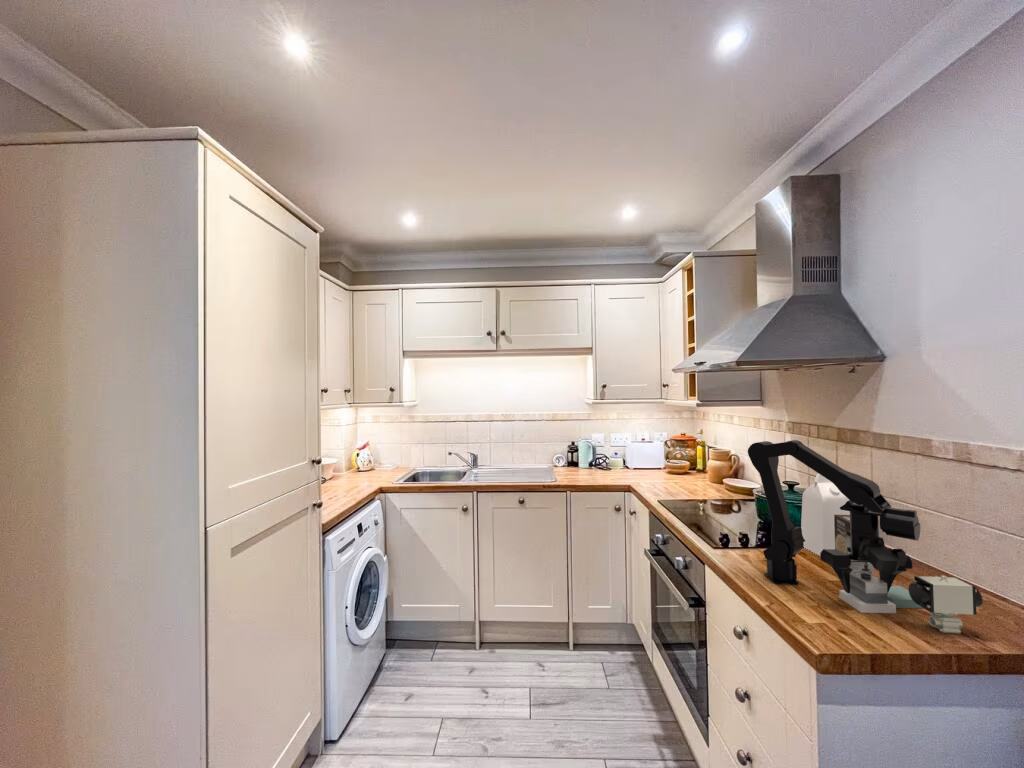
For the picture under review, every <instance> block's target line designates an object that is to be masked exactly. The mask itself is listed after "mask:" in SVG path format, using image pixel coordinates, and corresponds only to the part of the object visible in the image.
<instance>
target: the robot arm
mask: <svg viewBox="0 0 1024 768" xmlns="http://www.w3.org/2000/svg"><path fill="white" fill-rule="evenodd" d="M747 454H748V457H749V459H750V461H751V464H752V465H753V467H754V468H755V470H756V471H757V472H758V473H759V477H760V480H761V484H762V487H763V492H764V496H765V500H766V502H767V503H766V504H767V507H768V510H769V515H770V519H771V521H772V523H771V524H772V525H771V533H770V538H771V545H770V546H769V547H767V548H766V549H764V550H763V551H762V553H763V555H764V558H765V560H766V572H764V573H763V574H764V576H765V577H766V578H768V579H769V580H770V581H771V582H772V583H774V584H777V585H779V584H780V585H799V581H798V580H797V579H798V574H797V573H798V571H797V568H798V566H797V564H796V560H795V559H794V558H795V557H796V555H797V554H798V553H800V552H801V551H802V550H803V549H804V548H803V546H804V544H803V542H805V539H804V538H803V535H802V529H801V526H796V525H794V523H793V522H792V519H791V515H790V514H789V510H788V506H787V501H786V498H785V495H784V491H783V487H782V483H781V479H780V476H779V473H778V472H779V471H778V468H779V461H780V460H779V459H780V458H779V457H782V456H791V457H792V458H794V459H796V460H798V462H801V463H802V464H803V465H805V466H806V467H808V468H810V469H811V470H812V471H814V472H816V474H820V475H822V476H823V477H825V478H826V479H828V480H829V481H831V482H832V483H833V484H834V485H835V486H836V487H837V488H838V489H839V491H840V492H841V493H842V494H843V495H845V496H846V497H847V498H848V499H849V501H847V502H846V503H845V504H844V505H843V506H841V507H840V509H841V510H846V511H850V531H847V535H848V536H850V538H851V547H847V551H849V552H851V554H845V553H843V552H841V551H839V550H837V549H823V550H822V551H821V553H820V556H819V557H820V560H821V561H823V562H824V563H826V564H827V565H829V566H831V567H832V569H833V571H834V572H835V574H836V575H837V578H838V580H839V581H840V582H839V583H841V586H842V588H843V590H845V592H847V593H850V573H851V571H852V570H853V569H851V568H849V566H850V565H851V562H870V563H871V564H872V565H873V567H874V569H875V570H876V571H878V574H879V579H881V580H882V581H884V582H886V583H887V594H888V592H889V590H890V587H891V586H893V584H894V581H895V579H896V577H897V576H898V575H899V574H901V573H905V572H907V571H908V569H909V570H911V569H914V564H913V560H912V558H911V556H910V555H907V554H906V551H904V550H903V549H902V548H888V547H886V545H885V540H884V538H883V537H881V536H880V530H881V531H882V532H883V533H885V535H886V536H891V537H897V538H902V539H905V540H911V541H917V542H918V541H919V539H920V536H921V522H920V521H919V520H920V519H919V517H918V513H917V510H915V509H914V510H913V509H903V508H895V507H892V505H891V504H890V503H889V501H887V499H886V498H885V497H884V496H883V494H882V493H881V489H880V486H879V484H878V483H876V482H875V481H873V480H870V479H869V478H867V477H864V476H862V475H859V474H857V473H853V472H851V471H848V470H846V469H843V468H842V467H841V466H838V465H837V464H835V463H834V462H832V461H831V460H829V459H828V458H826V457H824V456H823V455H821V454H820V453H818V452H816V451H815V450H813V449H811V448H810V447H808V446H807V445H805V444H804V443H803V442H801V441H800V440H799V439H793V440H788V441H785V442H776V443H773V442H771V441H768V440H767V441H766V440H764V441H757V442H753V443H751V445H750V446H749V447H748V448H747ZM854 503H855V504H854Z"/></svg>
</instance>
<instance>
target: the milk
mask: <svg viewBox="0 0 1024 768" xmlns="http://www.w3.org/2000/svg"><path fill="white" fill-rule="evenodd" d="M801 499H802V500H801V519H800V521H801V523H800V525H801V526H800V527H801V529H802V535H803V538H804V539H805V542H803V544H804V546H803V547H804V548H803V549H805V548H806V549H805V550H807V549H808V550H807V551H809V550H810V551H811V553H812V552H813V553H812V554H814V553H815V554H814V555H816V554H817V555H816V556H818V555H819V556H818V557H820V553H821V551H822V550H823V549H835V527H834V515H850V511H846V510H841V509H840V507H841V506H843V505H844V504H845V503H846V502H847V501H849V499H848V498H847V497H846V496H845V495H843V494H842V493H841V492H840V491H839V489H838V488H837V487H836V486H835V485H834V484H833V483H832V482H831V481H829V480H828V479H826V478H825V477H823V476H822V475H820V474H819V473H816V475H815V479H814V482H812V483H811V484H810V485H809V486H808V487H807V488H806V489H805V490H804V491H803V493H802V498H801ZM854 504H855V503H854ZM810 551H809V552H810Z"/></svg>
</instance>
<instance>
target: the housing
mask: <svg viewBox="0 0 1024 768" xmlns="http://www.w3.org/2000/svg"><path fill="white" fill-rule="evenodd" d="M850 593H851V594H852V595H854V596H855V597H857V598H858V599H860V600H862V601H863V602H865V603H867V604H888V596H887V583H886V582H884V581H882V580H881V579H880V577H877V576H875V575H874V576H873V575H871V574H869V573H868V572H851V573H850Z"/></svg>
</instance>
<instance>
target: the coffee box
mask: <svg viewBox="0 0 1024 768" xmlns="http://www.w3.org/2000/svg"><path fill="white" fill-rule="evenodd" d="M834 527H835V549H837V550H839V551H841V552H843V553H845V554H851V552H849V551H847V547H851V538H850V536H848V535H847V531H850V515H834ZM849 568H851V569H853V570H852V571H851V572H868V573H869V574H871V575H873V576H875V574H874V573H875V571H874V569H875V568H874V567H873V565H872V564H871V563H870V562H851V565H850V566H849Z"/></svg>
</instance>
